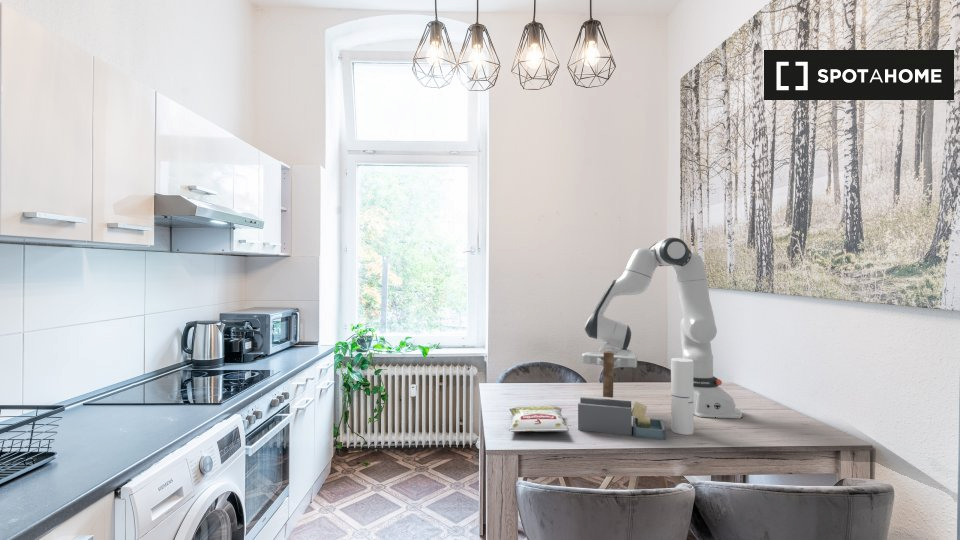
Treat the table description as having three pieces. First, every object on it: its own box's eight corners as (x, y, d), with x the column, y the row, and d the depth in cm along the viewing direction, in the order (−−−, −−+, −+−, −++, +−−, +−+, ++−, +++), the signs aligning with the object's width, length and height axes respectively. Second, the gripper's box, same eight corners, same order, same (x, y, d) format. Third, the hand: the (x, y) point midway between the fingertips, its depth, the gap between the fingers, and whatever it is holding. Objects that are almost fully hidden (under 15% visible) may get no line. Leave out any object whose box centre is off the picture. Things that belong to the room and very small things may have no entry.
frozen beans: (561, 400, 173) (570, 421, 148) (562, 415, 173) (571, 438, 148) (508, 401, 175) (508, 422, 150) (509, 416, 175) (508, 439, 150)
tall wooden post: (613, 394, 166) (613, 351, 166) (613, 397, 161) (613, 353, 161) (603, 393, 167) (604, 350, 167) (603, 396, 162) (603, 352, 162)
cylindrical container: (668, 427, 160) (667, 357, 160) (688, 427, 160) (687, 357, 160) (676, 434, 153) (675, 361, 153) (697, 434, 153) (696, 361, 153)
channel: (631, 425, 162) (631, 401, 162) (631, 435, 152) (631, 408, 152) (580, 420, 167) (580, 396, 167) (578, 429, 158) (578, 404, 158)
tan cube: (643, 416, 157) (646, 406, 157) (643, 419, 153) (646, 409, 153) (631, 411, 159) (635, 401, 158) (631, 415, 155) (634, 404, 154)
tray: (662, 428, 159) (662, 419, 159) (665, 439, 148) (665, 430, 148) (632, 425, 162) (632, 416, 162) (633, 436, 151) (633, 427, 151)
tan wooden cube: (637, 427, 158) (649, 428, 157) (637, 430, 154) (650, 432, 153) (637, 415, 158) (649, 416, 157) (637, 419, 154) (650, 420, 153)
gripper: (582, 347, 179) (579, 353, 166) (636, 350, 173) (637, 356, 160) (582, 362, 179) (579, 369, 166) (636, 366, 173) (637, 374, 160)
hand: (608, 363), depth 163 cm, fingers closed on tall wooden post, 3 cm apart
